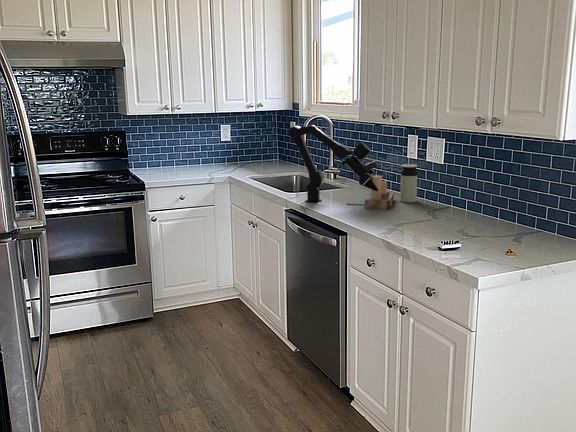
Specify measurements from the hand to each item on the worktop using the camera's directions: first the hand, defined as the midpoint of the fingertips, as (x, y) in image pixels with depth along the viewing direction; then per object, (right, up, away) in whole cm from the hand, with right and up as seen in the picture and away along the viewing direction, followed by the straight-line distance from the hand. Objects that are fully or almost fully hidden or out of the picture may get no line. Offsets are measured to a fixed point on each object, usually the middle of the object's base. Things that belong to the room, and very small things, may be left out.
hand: (378, 189), depth 276 cm
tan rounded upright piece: (0, -7, +2) cm, 7 cm away
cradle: (+1, -7, +1) cm, 7 cm away
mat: (-10, -7, +4) cm, 12 cm away
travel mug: (+16, -6, +6) cm, 18 cm away
